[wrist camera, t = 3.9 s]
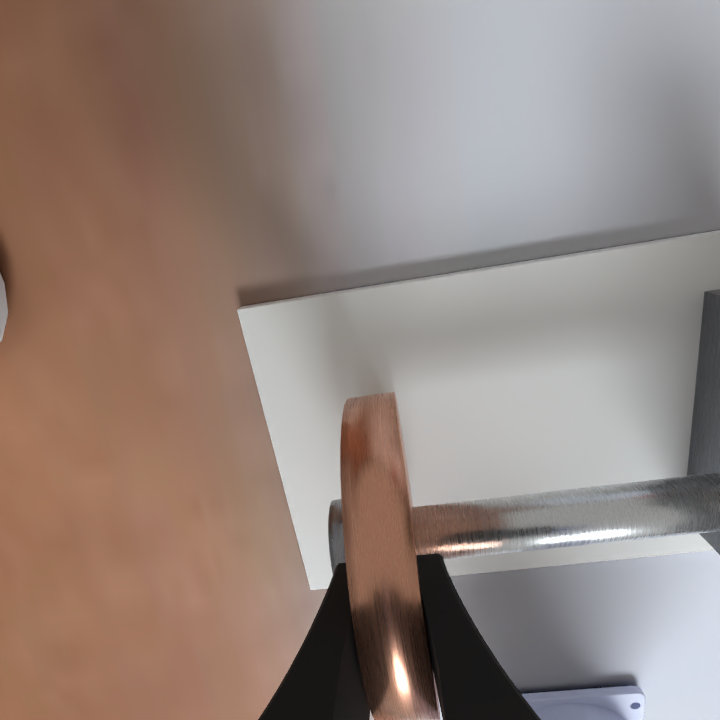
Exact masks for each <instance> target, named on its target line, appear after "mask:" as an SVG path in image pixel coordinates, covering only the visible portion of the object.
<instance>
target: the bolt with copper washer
mask: <svg viewBox="0 0 720 720" xmlns="http://www.w3.org/2000/svg"><path fill="white" fill-rule="evenodd" d="M340 478H341V499H337V500H332V501H331V504H330V508H329V517H328V539H329V553H330V561H331V567H332V572H333V574H334V571H335V568H336V566H337V565H338V564H339V563H346V570H347V580H348V589H349V598H350V606H351V614H352V621H353V628H354V635H355V642H356V648H357V654H358V659H359V665H360V670H361V675H362V680H363V684H364V689H365V693H366V697H367V700H368V704H369V707H370V710H371V713H372V716H373V718H374V719H375V720H440V711H439V701H438V693H437V688H436V683H435V678H434V673H433V668H432V662H431V655H430V649H429V642H428V636H427V629H426V623H425V616H424V610H423V603H422V597H421V590H420V583H419V574H418V564H417V555H425V554H435V553H439V554H440V555H441V556H443V559H454V558H463V557H473V556H483V555H493V554H502V553H512V552H522V551H532V550H541V549H551V548H561V547H571V546H580V545H590V544H600V543H610V542H619V541H629V540H639V539H649V538H658V537H668V536H678V535H687V534H697V533H707V532H717V531H720V472H717V473H708V474H699V475H690V476H682V477H673V478H664V479H655V480H646V481H638V482H629V483H620V484H611V485H603V486H594V487H585V488H576V489H567V490H559V491H550V492H541V493H532V494H523V495H515V496H506V497H497V498H488V499H480V500H471V501H462V502H453V503H444V504H436V505H427V506H418V507H413V502H412V495H411V488H410V482H409V475H408V468H407V461H406V455H405V448H404V442H403V435H402V429H401V422H400V416H399V410H398V405H397V399H396V394H395V392H389V393H381V394H374V395H367V396H360V397H352V398H348V399H347V400H346V402H345V405H344V409H343V415H342V423H341V443H340Z"/></svg>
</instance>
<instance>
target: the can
mask: <svg viewBox="0 0 720 720" xmlns="http://www.w3.org/2000/svg"><path fill="white" fill-rule="evenodd" d="M7 316H8V308H7V300H6V292H5V284H4V281H3V278H2V276H1V274H0V342H1V341H2V338H3V334H4V330H5V325H6V321H7Z"/></svg>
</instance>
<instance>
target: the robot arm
mask: <svg viewBox="0 0 720 720" xmlns="http://www.w3.org/2000/svg"><path fill="white" fill-rule="evenodd" d="M417 564H418V574H419V583H420V590H421V597H422V603H423V610H424V616H425V623H426V629H427V636H428V642H429V649H430V655H431V662H432V668H433V673H434V678H435V683H436V688H437V693H438V698H439V702H440V707H441V712H442V717H443V720H644V707H645V695H644V693H643V691H642V690H641V688H640V687H637V686H619V687H606V688H592V689H579V690H566V691H552V692H539V693H525V694H521V693H520V692H519V690H518V689H517V688H516V686H515V685H514V684H513V682H512V681H511V679H510V678H509V677H508V675H507V674H506V672H505V671H504V669H503V668H502V667H501V665H500V664H499V662H498V661H497V659H496V658H495V656H494V655H493V653H492V652H491V650H490V648H489V647H488V645H487V644H486V642H485V641H484V639H483V637H482V636H481V634H480V633H479V631H478V629H477V628H476V626H475V624H474V622H473V621H472V619H471V617H470V615H469V614H468V612H467V610H466V608H465V607H464V605H463V603H462V601H461V599H460V597H459V595H458V593H457V591H456V589H455V587H454V585H453V583H452V580H451V578H450V576H449V573H448V571H447V568H446V566H445V563H444V559H443V556H441V555H440V554H439V553H435V554H425V555H417ZM369 717H370V707H369V704H368V700H367V697H366V693H365V689H364V684H363V680H362V675H361V670H360V665H359V659H358V654H357V648H356V642H355V635H354V628H353V621H352V614H351V606H350V598H349V589H348V580H347V570H346V563H339V564H338V565H337V566H336V568H335V571H334V574H333V576H332V579H331V582H330V584H329V587H328V590H327V592H326V594H325V597H324V599H323V602H322V604H321V606H320V609H319V611H318V613H317V615H316V617H315V619H314V622H313V624H312V626H311V628H310V630H309V632H308V634H307V636H306V638H305V640H304V642H303V644H302V646H301V648H300V650H299V652H298V654H297V655H296V657H295V659H294V661H293V663H292V665H291V667H290V669H289V670H288V672H287V674H286V676H285V677H284V679H283V681H282V683H281V684H280V686H279V688H278V689H277V691H276V693H275V694H274V696H273V697H272V699H271V701H270V702H269V704H268V705H267V707H266V709H265V710H264V712H263V713H262V715H261V716H260V718H259V719H258V720H369Z"/></svg>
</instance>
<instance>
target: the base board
mask: <svg viewBox="0 0 720 720" xmlns="http://www.w3.org/2000/svg"><path fill="white" fill-rule="evenodd" d="M718 289H720V230H717V231H711V232H704V233H698V234H692V235H686V236H679V237H673V238H667V239H661V240H654V241H648V242H642V243H636V244H629V245H623V246H617V247H611V248H604V249H598V250H592V251H586V252H579V253H573V254H567V255H561V256H554V257H548V258H542V259H536V260H529V261H523V262H517V263H510V264H504V265H498V266H492V267H485V268H479V269H473V270H467V271H460V272H454V273H448V274H442V275H435V276H429V277H423V278H417V279H410V280H404V281H398V282H392V283H385V284H379V285H373V286H367V287H360V288H354V289H348V290H342V291H335V292H329V293H323V294H317V295H310V296H304V297H298V298H292V299H285V300H279V301H273V302H267V303H260V304H254V305H248V306H242V307H240V308H239V309H237V312H238V316H239V320H240V323H241V327H242V331H243V335H244V339H245V342H246V346H247V350H248V354H249V357H250V361H251V365H252V369H253V373H254V376H255V380H256V384H257V388H258V392H259V395H260V399H261V403H262V407H263V411H264V414H265V418H266V422H267V426H268V430H269V433H270V437H271V441H272V445H273V449H274V452H275V456H276V460H277V464H278V468H279V471H280V475H281V479H282V483H283V486H284V490H285V494H286V498H287V502H288V505H289V509H290V513H291V517H292V521H293V524H294V528H295V532H296V536H297V540H298V543H299V547H300V551H301V555H302V559H303V562H304V566H305V570H306V574H307V578H308V581H309V585H310V589H311V590H318V589H328V587H329V584H330V582H331V579H332V576H333V572H332V567H331V561H330V553H329V539H328V517H329V508H330V504H331V501H332V500H337V499H341V478H340V443H341V423H342V415H343V409H344V405H345V402H346V400H347V399H348V398H352V397H360V396H367V395H374V394H381V393H389V392H395V394H396V399H397V405H398V410H399V416H400V422H401V429H402V435H403V442H404V448H405V455H406V461H407V468H408V475H409V482H410V488H411V495H412V502H413V507H418V506H427V505H436V504H444V503H453V502H462V501H471V500H480V499H488V498H497V497H506V496H515V495H523V494H532V493H541V492H550V491H559V490H567V489H576V488H585V487H594V486H603V485H611V484H620V483H629V482H638V481H646V480H655V479H664V478H673V477H682V476H687V469H688V459H689V448H690V438H691V427H692V417H693V406H694V396H695V385H696V375H697V364H698V354H699V343H700V333H701V322H702V312H703V301H704V291H711V290H718ZM712 550H715V549H714V548H713V547H712V546H711V545H710V544H709V543H708V542H707V541H706V540H705V539H704V538H703V537H702V536H701V535H700V534H699V533H697V534H687V535H678V536H668V537H658V538H649V539H639V540H629V541H619V542H610V543H600V544H590V545H580V546H571V547H561V548H551V549H541V550H532V551H522V552H512V553H502V554H493V555H483V556H473V557H463V558H454V559H444V563H445V566H446V568H447V571H448V573H449V576H459V575H469V574H480V573H490V572H500V571H510V570H520V569H530V568H540V567H550V566H560V565H570V564H580V563H591V562H601V561H611V560H621V559H631V558H641V557H651V556H661V555H671V554H681V553H692V552H702V551H712Z"/></svg>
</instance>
